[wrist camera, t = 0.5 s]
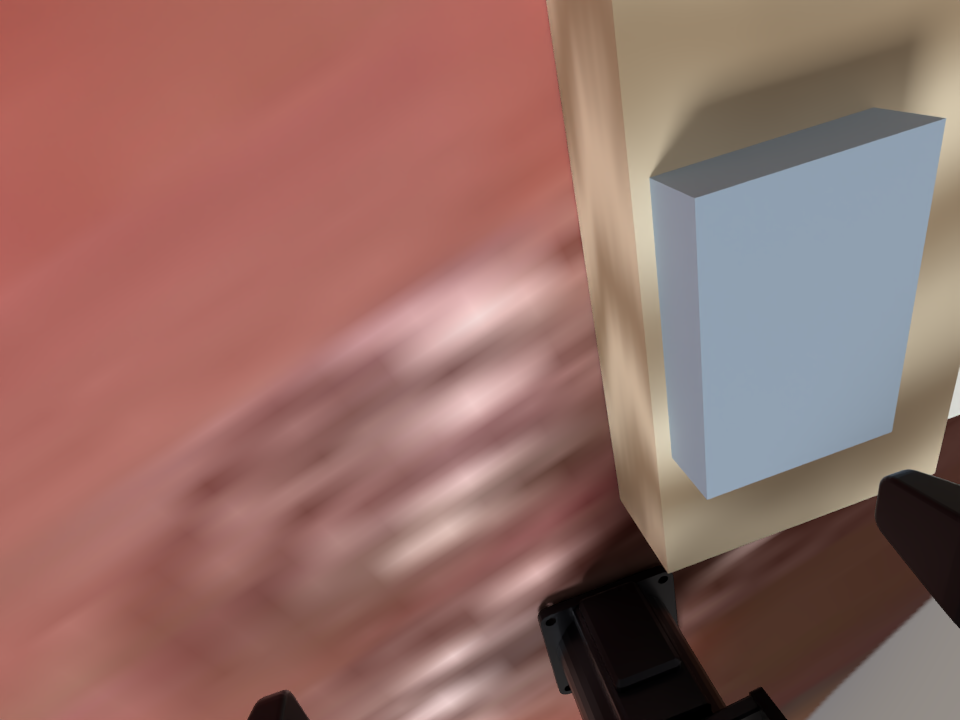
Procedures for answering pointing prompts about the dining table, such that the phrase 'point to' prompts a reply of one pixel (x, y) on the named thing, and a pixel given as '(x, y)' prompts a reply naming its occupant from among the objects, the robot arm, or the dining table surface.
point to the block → (791, 292)
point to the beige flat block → (720, 130)
